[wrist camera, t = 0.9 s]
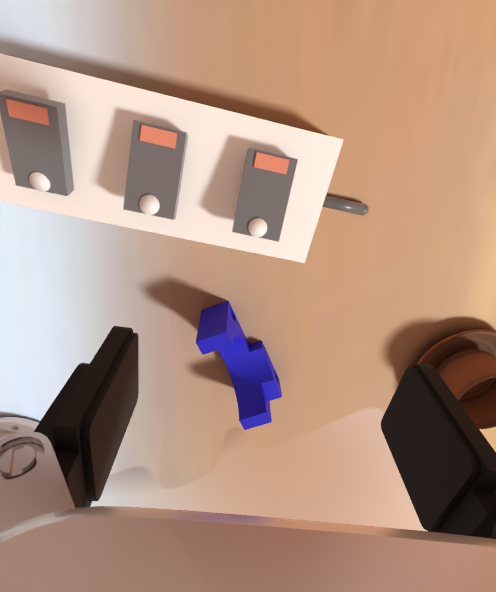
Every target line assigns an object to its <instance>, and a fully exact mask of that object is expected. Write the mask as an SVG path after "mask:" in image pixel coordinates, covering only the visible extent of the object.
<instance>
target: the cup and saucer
mask: <svg viewBox="0 0 496 592" xmlns="http://www.w3.org/2000/svg"><path fill="white" fill-rule="evenodd" d="M417 364H423V365H431V366H433V367H434V368H435V369H436V371H437V372H438V373H439V375H440V376H441V378H442V379H443V380H444V382H445V383H446V385H447V386H448V387H449V389H450V390H451V391H452V393H453V394H454V396H455V397H456V398H457V400H458V401H459V402H460V404H461V405H462V407H463V408H464V409H465V411H466V412H467V414H468V415H469V416H470V418H471V419H472V420H473V422H474V423H475V425H476V426H477V427H478V429H487V428H492V427H496V332H495V331H491V330H470V331H465V332H461V333H458V334H455V335H452V336H449V337H447V338H445V339H443V340H442V341H440V342H438V343H437V344H435V345H434V346H433V347H431V348H430V349H429V350H428V351H427V352H426V353H425V354H424V355H423V356H422V358H421V359H420V360H419V362H418V363H417Z"/></svg>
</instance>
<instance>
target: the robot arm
mask: <svg viewBox="0 0 496 592" xmlns="http://www.w3.org/2000/svg"><path fill="white" fill-rule="evenodd" d="M137 399H138V334H137V333H133V330H132V328H126V327H118V326H114V327H113V328H112V330H111V331H110V333H109V334H108V336H107V338H106V339H105V341H104V342H103V344H102V346H101V347H100V349H99V350H98V352H97V354H96V355H95V357H94V358H93V360H92V362H91V363H90V364H86V363H81V364H79V365H78V366H77V367H76V369H75V370H74V372H73V373H72V375H71V376H70V378H69V379H68V381H67V382H66V384H65V385H64V387H63V388H62V390H61V391H60V393H59V394H58V396H57V397H56V399H55V400H54V402H53V403H52V405H51V406H50V408H49V409H48V411H47V412H46V414H45V415H44V417H43V418H42V420H41V421H40V423H39V422H36V421H33V420H29V419H25V418H19V417H0V592H496V452H495V451H494V450H493V448H492V447H491V445H490V444H489V443H488V441H487V440H486V438H485V437H484V436H483V434H482V433H481V432H480V430H479V429H478V427H477V426H476V425H475V423H474V422H473V420H472V419H471V418H470V416H469V415H468V414H467V412H466V411H465V409H464V408H463V407H462V405H461V404H460V402H459V401H458V400H457V398H456V397H455V396H454V394H453V393H452V391H451V390H450V389H449V387H448V386H447V385H446V383H445V382H444V380H443V379H442V378H441V376H440V375H439V373H438V372H437V371H436V369H435V368H434V367H433V366H431V365H423V364H413V365H412V366H411V367H408V368H407V369H406V371H405V373H404V375H403V377H402V379H401V381H400V383H399V385H398V387H397V390H396V392H395V394H394V396H393V398H392V400H391V402H390V404H389V406H388V408H387V410H386V412H385V414H384V416H383V418H382V421H381V428H382V432H383V434H384V436H385V439H386V441H387V443H388V446H389V448H390V451H391V453H392V455H393V458H394V460H395V463H396V465H397V467H398V470H399V472H400V474H401V477H402V479H403V482H404V484H405V487H406V489H407V491H408V494H409V496H410V499H411V501H412V503H413V506H414V508H415V511H416V513H417V515H418V518H419V520H420V523H421V525H422V527H423V528H424V529H425V530H428V532H426V531H416V530H405V529H394V528H383V527H373V526H362V525H351V524H340V523H328V522H317V521H305V520H294V519H283V518H271V517H259V516H247V515H235V514H223V513H210V512H198V511H186V510H171V509H155V508H139V507H106V506H105V507H104V506H102V507H101V506H99V507H90V505H91V503H92V501H98V500H99V499H100V497H101V494H102V492H103V489H104V486H105V484H106V481H107V478H108V476H109V473H110V471H111V468H112V466H113V463H114V460H115V458H116V455H117V452H118V450H119V447H120V445H121V442H122V439H123V437H124V434H125V432H126V429H127V426H128V424H129V421H130V419H131V416H132V413H133V411H134V408H135V405H136V403H137Z"/></svg>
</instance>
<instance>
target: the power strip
mask: <svg viewBox="0 0 496 592" xmlns="http://www.w3.org/2000/svg"><path fill="white" fill-rule="evenodd" d="M3 90H11V91H15V92H20V93H24V94H28V95H32V96H36V97H41V98H45V99H49V100H53V101H57V102H61V103H65V108H66V117H67V127H68V136H69V146H70V155H71V164H72V174H73V183H74V191H73V192H71V193H70V194H69V195H68V196H64V195H59V194H54V193H49V192H41V191H38V190H35V189H30V188H25V187H21V186H16V184H15V179H14V175H13V170H12V165H11V161H10V156H9V151H8V147H7V142H6V137H5V133H4V128H3V123H2V119H1V114H0V202H5V203H10V204H15V205H20V206H25V207H30V208H35V209H39V210H44V211H49V212H54V213H59V214H64V215H69V216H74V217H79V218H84V219H89V220H94V221H99V222H104V223H109V224H114V225H119V226H124V227H129V228H134V229H139V230H144V231H149V232H154V233H158V234H163V235H168V236H173V237H178V238H183V239H188V240H193V241H198V242H203V243H208V244H213V245H218V246H223V247H228V248H233V249H238V250H243V251H248V252H253V253H258V254H263V255H268V256H273V257H278V258H282V259H287V260H292V261H297V262H302V263H305V260H306V257H307V254H308V250H309V247H310V244H311V241H312V238H313V235H314V231H315V228H316V225H317V222H318V219H319V216H320V213H321V209H322V207H327V208H331V209H336V210H340V211H345V212H349V213H354V214H358V215H365V214H366V213H367V212H368V206H367V205H366V204H362V203H358V202H354V201H349V200H345V199H341V198H336V197H332V196H327V195H326V194H327V190H328V187H329V184H330V181H331V178H332V175H333V171H334V168H335V165H336V162H337V159H338V156H339V153H340V149H341V146H342V143H343V139H339V138H335V137H331V136H327V135H323V134H319V133H315V132H311V131H307V130H303V129H299V128H295V127H291V126H287V125H283V124H279V123H275V122H271V121H267V120H263V119H259V118H255V117H251V116H247V115H243V114H240V113H236V112H232V111H228V110H224V109H220V108H216V107H212V106H208V105H204V104H200V103H196V102H192V101H188V100H184V99H180V98H176V97H172V96H168V95H164V94H160V93H156V92H152V91H148V90H144V89H140V88H136V87H132V86H128V85H124V84H120V83H116V82H112V81H108V80H104V79H100V78H96V77H92V76H88V75H84V74H80V73H76V72H72V71H68V70H64V69H60V68H56V67H52V66H48V65H44V64H40V63H36V62H32V61H28V60H24V59H21V58H17V57H13V56H9V55H5V54H1V53H0V91H3ZM133 120H137V121H141V122H145V123H149V124H153V125H158V126H162V127H166V128H170V129H174V130H179V131H183V132H187V134H188V141H187V147H186V154H185V161H184V167H183V174H182V180H181V187H180V193H179V200H178V206H177V213H176V219H174V220H172V219H167V218H162V217H157V216H153V215H147V214H143V213H138V212H133V211H128V210H124V209H123V206H124V198H125V189H126V180H127V171H128V162H129V154H130V145H131V136H132V127H133ZM248 148H254V149H258V150H262V151H266V152H270V153H274V154H279V155H283V156H287V157H291V158H295V159H298V161H297V165H296V170H295V174H294V178H293V183H292V187H291V191H290V196H289V200H288V204H287V208H286V213H285V217H284V221H283V226H282V230H281V234H280V239H279V242H278V241H273V240H268V239H263V238H259V237H254V236H249V235H244V234H239V233H234V232H232V228H233V223H234V218H235V213H236V208H237V202H238V197H239V192H240V187H241V182H242V177H243V172H244V167H245V161H246V156H247V151H248Z"/></svg>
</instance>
